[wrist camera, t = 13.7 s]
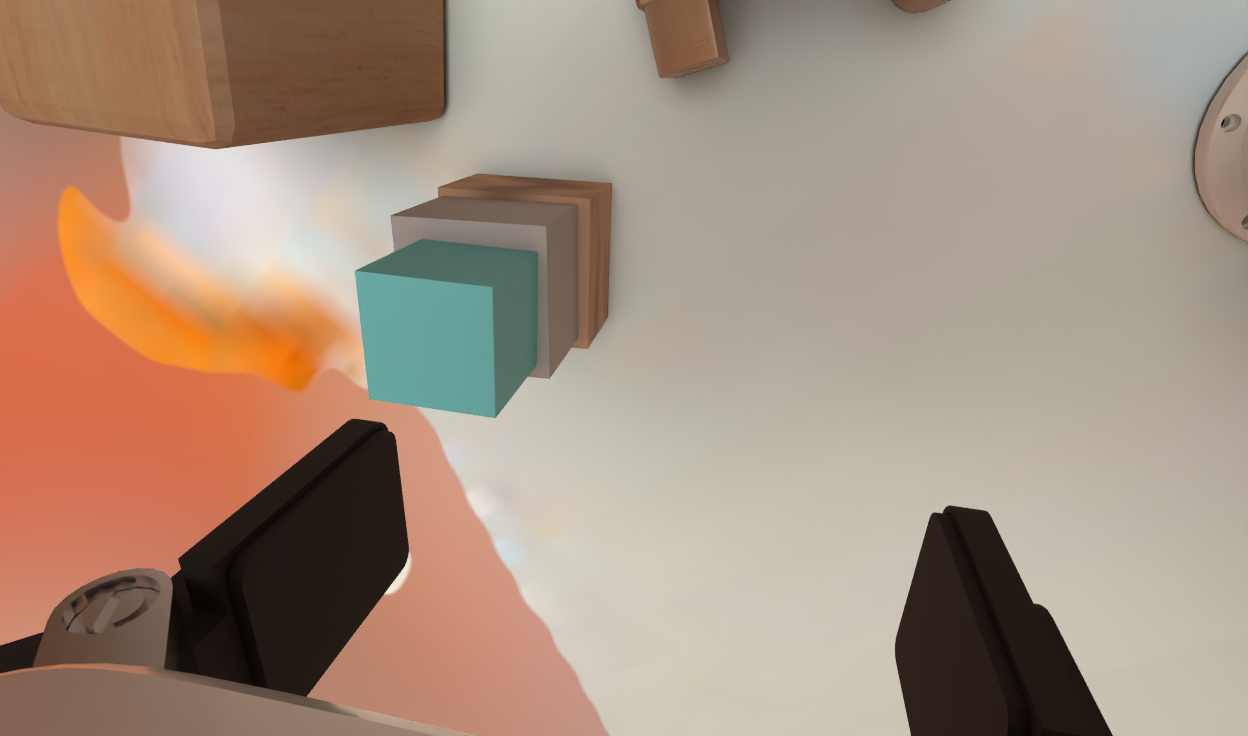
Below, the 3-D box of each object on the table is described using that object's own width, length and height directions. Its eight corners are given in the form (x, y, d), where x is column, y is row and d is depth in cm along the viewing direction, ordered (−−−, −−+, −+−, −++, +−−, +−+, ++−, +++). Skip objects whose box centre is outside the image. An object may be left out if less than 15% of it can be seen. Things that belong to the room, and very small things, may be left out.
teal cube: (537, 251, 32) (492, 287, 27) (536, 364, 34) (495, 417, 29) (421, 238, 33) (355, 270, 27) (429, 349, 35) (369, 399, 30)
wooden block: (307, 103, 43) (-14, 122, 25) (290, -77, 39) (-107, -207, 21) (450, 121, 42) (219, 155, 24) (449, -63, 38) (168, -187, 20)
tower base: (612, 183, 42) (590, 199, 37) (608, 316, 46) (587, 348, 40) (478, 173, 43) (437, 187, 38) (484, 304, 47) (448, 333, 42)
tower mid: (577, 204, 37) (546, 226, 31) (578, 337, 40) (549, 378, 35) (443, 195, 38) (390, 215, 33) (453, 326, 41) (407, 363, 36)
